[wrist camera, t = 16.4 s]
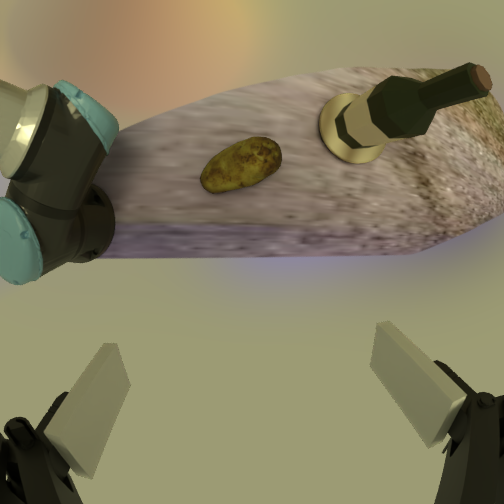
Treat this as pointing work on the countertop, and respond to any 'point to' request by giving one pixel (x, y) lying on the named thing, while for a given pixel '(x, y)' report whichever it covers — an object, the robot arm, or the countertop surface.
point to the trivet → (331, 135)
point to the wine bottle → (407, 105)
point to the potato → (242, 165)
